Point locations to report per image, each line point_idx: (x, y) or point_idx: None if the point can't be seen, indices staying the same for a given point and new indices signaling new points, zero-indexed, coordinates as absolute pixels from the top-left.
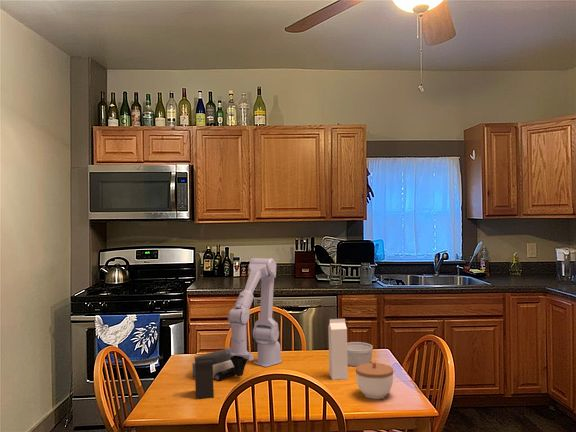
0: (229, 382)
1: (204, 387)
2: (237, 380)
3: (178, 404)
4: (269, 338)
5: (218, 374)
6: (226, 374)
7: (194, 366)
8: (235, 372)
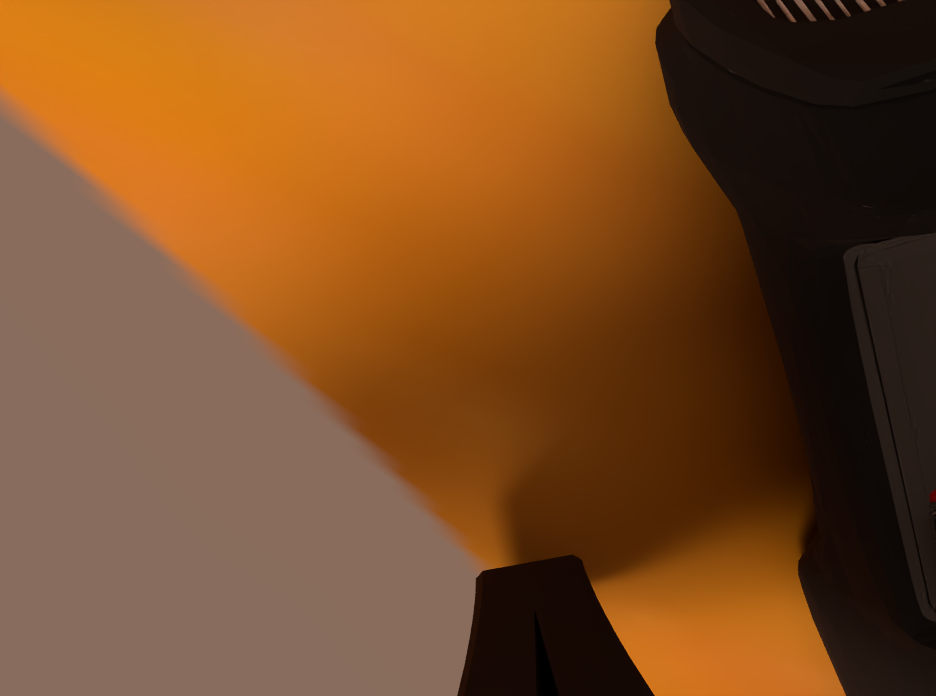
0: (356, 214)
1: None
2: (386, 457)
3: None
4: None
5: (899, 44)
6: (790, 359)
7: None
8: (826, 617)
